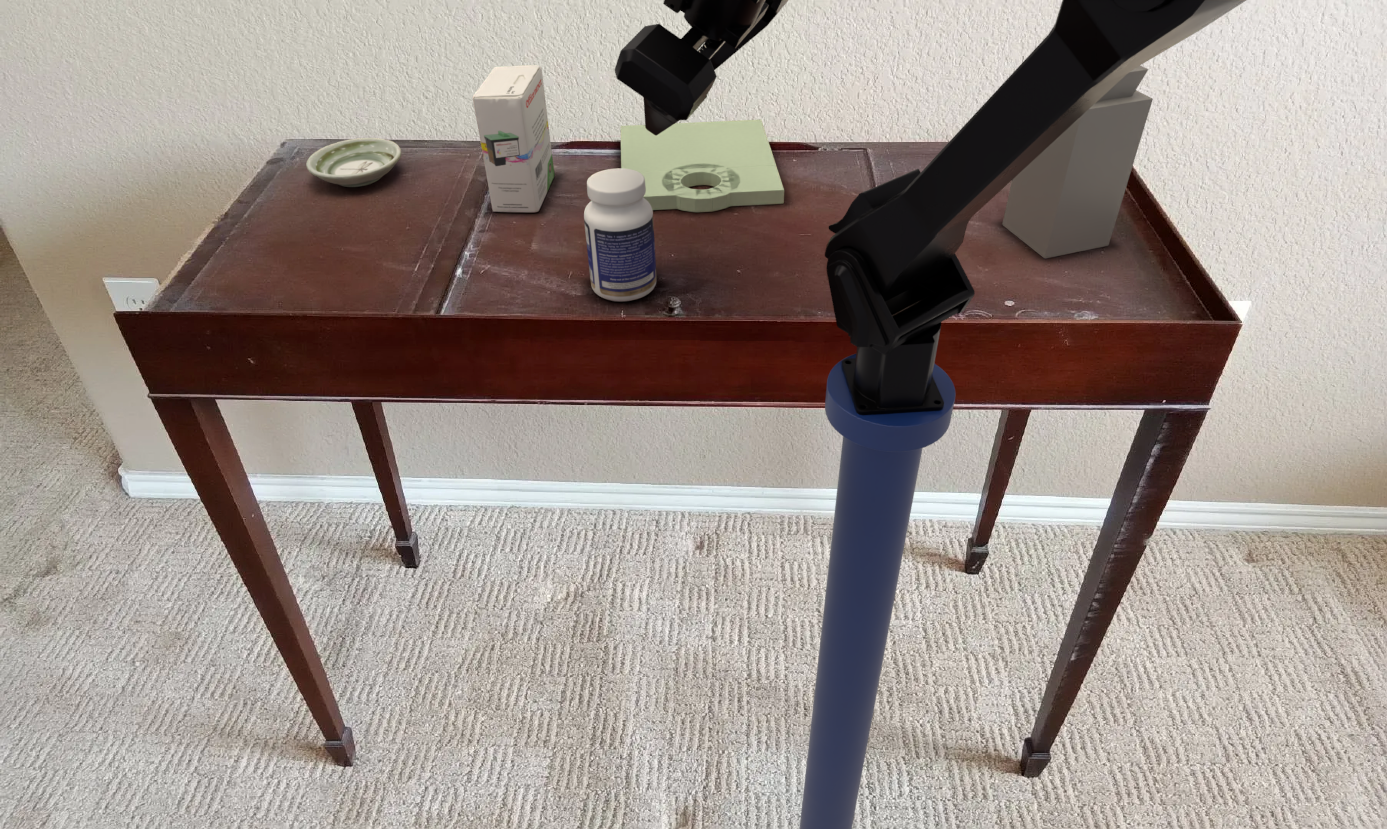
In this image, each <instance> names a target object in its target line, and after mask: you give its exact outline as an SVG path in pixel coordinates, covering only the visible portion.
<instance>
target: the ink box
mask: <svg viewBox="0 0 1387 829" xmlns="http://www.w3.org/2000/svg"><path fill="white" fill-rule="evenodd" d="M472 103H473V108H474V113H475V114H474V115H475V119H476V125H477V130H478V135H479V141H480V147H481V152H482V153H481V154H482V159H483V163H484V169H485V174H486V175H485V176H486V180H487V186H488V192H489V193H488V194H489V198H490V204H491V209H492V212H494V213H538V212H539V211H540V209H541V207H542V205H543V203H544V201H545V198H546V196H547V194H548V192H549V189H550V187H551V185H552V182H553V181H554V178H555V166H554V159H553V150H552V144H551V135H550V126H549V119H548V111H547V110H548V109H547V103H546V94H545V86H544V77H543V69H542V66H540V65H538V64H524V65H522V64H521V65H505V66H503V65H502V66H493V68H492V69H491V71H490V72H489V74H488V75H487V76H486V78H485V79H484V81H483V82H482V83H481V84H480V86H479V87H478V88H477V89H476V91H475V93H474V94H473V95H472Z"/></svg>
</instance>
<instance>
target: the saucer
mask: <svg viewBox="0 0 1387 829" xmlns="http://www.w3.org/2000/svg"><path fill="white" fill-rule="evenodd" d="M401 157H402V149H401V147H400V145H398V143H396V142H394V141H392V140H389V139H386V138H380V137H379V138H378V137H359V138H351V139H345V140H341V141H338V142H334V143H331V144H328V145H326V146H324V147H321V148H320V149H318V150H316V151H314V152H313V153H312V154H310V156H309V158H307V160H306V162H305V163H306V166H305V167H306V169H307V171H308V172H309V173H310V174H311V175H313V176H314V177H316V178H318V179H320V180H322V181H324V182H326V183H331V184H333V185H339V186H341V187H347V188H358V187H364V186H365V187H366V186H368V185H371V184H373V183H376V182H377V181H380V180H381V179H382V178H383V177H384V176H385V175H387V174H388V173H389V172H390V171H391V170H392V169H393V168H394V167H395V166H396V165H397V163H398V162H399V161H400V160H401Z"/></svg>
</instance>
